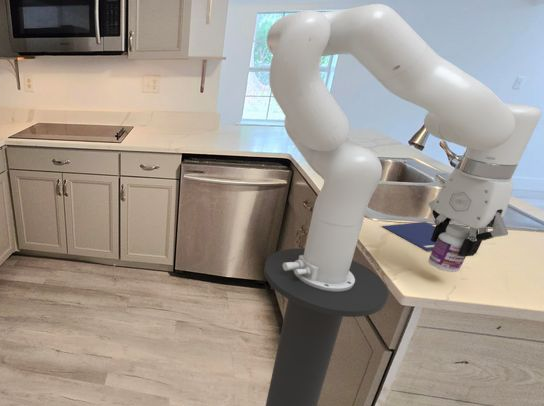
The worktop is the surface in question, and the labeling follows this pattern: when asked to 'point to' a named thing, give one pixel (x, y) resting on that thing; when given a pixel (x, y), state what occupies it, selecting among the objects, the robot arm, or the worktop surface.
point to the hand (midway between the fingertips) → (451, 247)
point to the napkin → (415, 233)
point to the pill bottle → (449, 248)
